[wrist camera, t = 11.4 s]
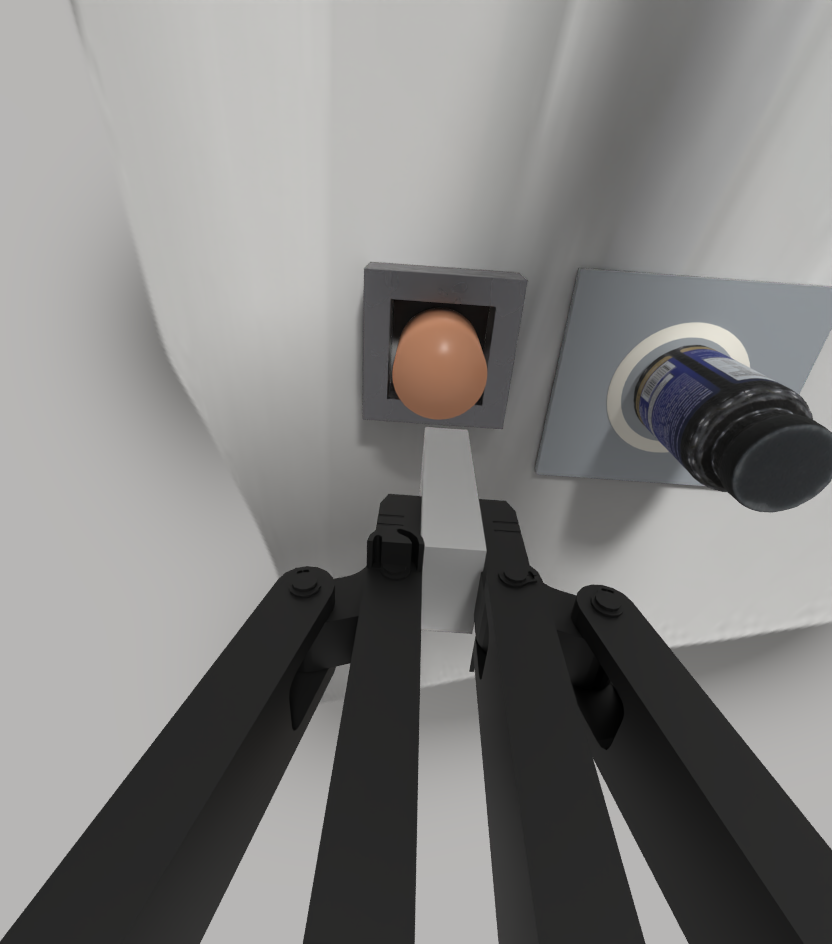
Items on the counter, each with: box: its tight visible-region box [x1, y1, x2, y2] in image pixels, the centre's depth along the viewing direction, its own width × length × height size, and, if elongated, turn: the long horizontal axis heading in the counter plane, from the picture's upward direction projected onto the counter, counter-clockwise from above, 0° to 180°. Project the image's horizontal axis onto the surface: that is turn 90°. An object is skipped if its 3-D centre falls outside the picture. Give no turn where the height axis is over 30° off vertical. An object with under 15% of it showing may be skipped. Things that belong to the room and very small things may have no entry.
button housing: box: [363, 262, 528, 429], centre depth 30 cm, size 9×9×3 cm
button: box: [392, 308, 487, 420], centre depth 27 cm, size 5×5×5 cm
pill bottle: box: [633, 345, 832, 512], centre depth 27 cm, size 6×6×11 cm
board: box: [535, 268, 832, 486], centre depth 32 cm, size 14×16×1 cm
